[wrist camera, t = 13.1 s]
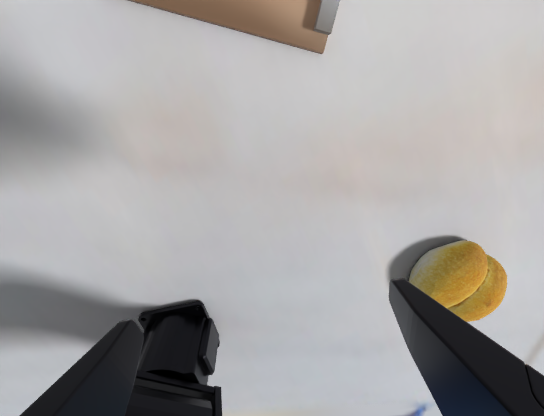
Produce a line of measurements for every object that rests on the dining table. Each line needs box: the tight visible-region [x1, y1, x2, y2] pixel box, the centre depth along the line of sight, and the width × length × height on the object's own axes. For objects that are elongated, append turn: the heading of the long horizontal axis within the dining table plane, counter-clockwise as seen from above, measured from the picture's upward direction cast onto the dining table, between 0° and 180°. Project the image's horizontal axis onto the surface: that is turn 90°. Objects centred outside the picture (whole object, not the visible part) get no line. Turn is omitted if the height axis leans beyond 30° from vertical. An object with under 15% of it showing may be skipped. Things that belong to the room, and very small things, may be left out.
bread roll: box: [409, 240, 507, 322], centre depth 25 cm, size 8×9×4 cm
